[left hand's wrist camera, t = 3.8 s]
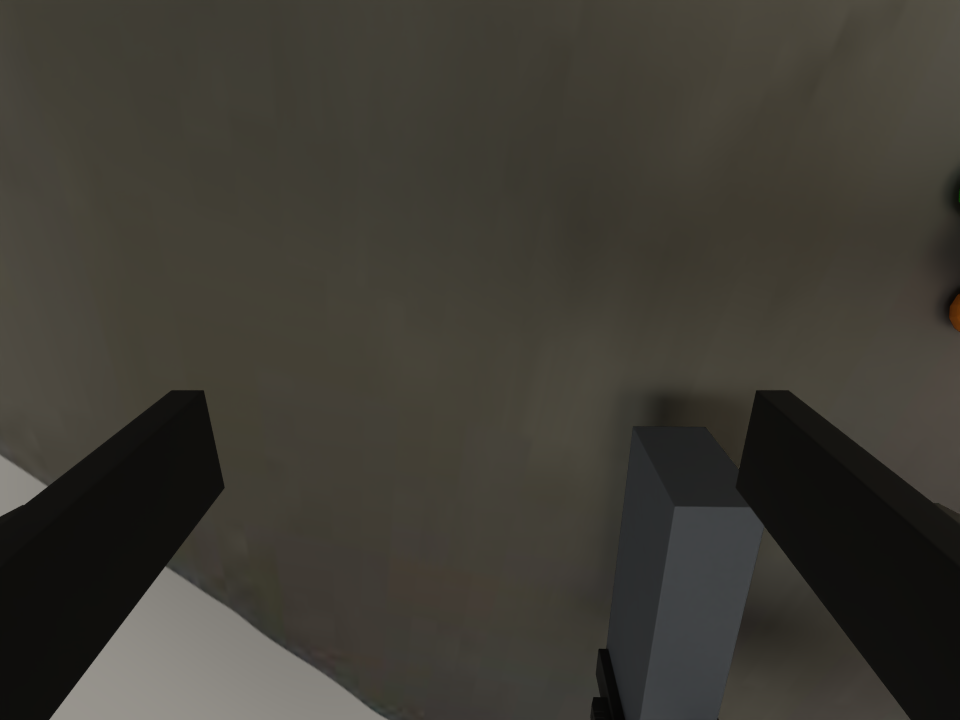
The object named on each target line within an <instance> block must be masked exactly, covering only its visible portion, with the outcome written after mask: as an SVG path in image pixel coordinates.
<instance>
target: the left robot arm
mask: <svg viewBox="0 0 960 720" xmlns="http://www.w3.org/2000/svg"><path fill="white" fill-rule="evenodd" d="M224 488H225V487H224V482H223V478H222V473H221V468H220V464H219V459H218V454H217V450H216V445H215V440H214V436H213V431H212V427H211V422H210V417H209V413H208V408H207V403H206V399H205V394H204V390H171V391H170V392H169V393H168V394H166V395H165V396H164V397H162V398H161V399H160V400H159V401H157V402H156V403H155V404H153V405H152V406H151V407H150V408H148V409H147V410H146V411H144V412H143V413H142V414H141V415H139V416H138V417H137V418H135V419H134V420H133V421H132V422H130V423H129V424H128V425H126V426H125V427H124V428H123V429H121V430H120V431H119V432H117V433H116V434H115V435H114V436H112V437H111V438H110V439H109V440H107V441H106V442H105V443H103V444H102V445H101V446H100V447H98V448H97V449H96V450H94V451H93V452H92V453H91V454H89V455H88V456H87V457H85V458H84V459H83V460H82V461H80V462H79V463H78V464H76V465H75V466H74V467H73V468H71V469H70V470H69V471H67V472H66V473H65V474H64V475H62V476H61V477H60V478H58V479H57V480H56V481H55V482H53V483H52V484H51V485H49V486H48V487H47V488H46V489H44V490H43V491H42V492H40V493H39V494H38V495H37V496H35V497H34V498H33V499H31V500H30V501H29V502H28V503H26V504H25V505H22V506H20V507H18V508H16V509H14V510H12V511H10V512H8V513H6V514H5V515H3V516H1V517H0V720H49V719H50V718H51V717H52V715H53V714H54V713H55V711H56V710H57V709H58V707H59V706H60V705H61V703H62V702H63V701H64V699H65V698H66V697H67V695H68V694H69V693H70V692H71V690H72V689H73V688H74V686H75V685H76V684H77V682H78V681H79V680H80V678H81V677H82V676H83V674H84V673H85V672H86V670H87V669H88V668H89V666H90V665H91V664H92V662H93V661H94V660H95V658H96V657H97V656H98V654H99V653H100V652H101V651H102V649H103V648H104V647H105V645H106V644H107V643H108V641H109V640H110V639H111V637H112V636H113V635H114V633H115V632H116V631H117V629H118V628H119V627H120V625H121V624H122V623H123V621H124V620H125V619H126V618H127V616H128V615H129V614H130V612H131V611H132V610H133V608H134V607H135V606H136V604H137V603H138V602H139V600H140V599H141V598H142V596H143V595H144V594H145V592H146V591H147V590H148V588H149V587H150V586H151V584H152V583H153V582H154V580H155V579H156V578H157V577H158V575H159V574H160V573H161V571H162V570H163V569H164V567H165V566H166V565H167V563H168V562H169V561H170V559H171V558H172V557H173V555H174V554H175V553H176V551H177V550H178V549H179V547H180V546H181V545H182V543H183V542H184V541H185V540H186V538H187V537H188V536H189V534H190V533H191V532H192V530H193V529H194V528H195V526H196V525H197V524H198V522H199V521H200V520H201V518H202V517H203V516H204V514H205V513H206V512H207V510H208V509H209V508H210V506H211V505H212V504H213V503H214V501H215V500H216V499H217V497H218V496H219V495H220V493H221V492H222V491H223V489H224ZM735 488H736V489H737V491H738V492H739V493H740V495H741V496H742V497H743V499H744V500H745V501H746V503H747V504H748V505H749V506H750V508H751V509H752V510H753V512H754V513H755V514H756V516H757V517H758V518H759V520H760V521H761V522H762V524H763V525H764V526H765V528H766V529H767V530H768V532H769V533H770V534H771V536H772V537H773V538H774V540H775V541H776V542H777V543H778V545H779V546H780V547H781V549H782V550H783V551H784V553H785V554H786V555H787V557H788V558H789V559H790V561H791V562H792V563H793V565H794V566H795V567H796V569H797V570H798V571H799V573H800V574H801V575H802V577H803V578H804V579H805V580H806V582H807V583H808V584H809V586H810V587H811V588H812V590H813V591H814V592H815V594H816V595H817V596H818V598H819V599H820V600H821V602H822V603H823V604H824V606H825V607H826V608H827V610H828V611H829V612H830V614H831V615H832V616H833V618H834V619H835V620H836V621H837V623H838V624H839V625H840V627H841V628H842V629H843V631H844V632H845V633H846V635H847V636H848V637H849V639H850V640H851V641H852V643H853V644H854V645H855V647H856V648H857V649H858V651H859V652H860V653H861V655H862V656H863V657H864V658H865V660H866V661H867V662H868V664H869V665H870V666H871V668H872V669H873V670H874V672H875V673H876V674H877V676H878V677H879V678H880V680H881V681H882V682H883V684H884V685H885V686H886V688H887V689H888V690H889V692H890V693H891V694H892V695H893V697H894V698H895V699H896V701H897V702H898V703H899V705H900V706H901V707H902V709H903V710H904V711H905V713H906V714H907V715H908V717H909V718H910V719H911V720H960V514H958V513H956V512H954V511H952V510H950V509H948V508H946V507H944V506H943V505H941V504H939V503H932V502H931V501H930V500H929V499H927V498H926V497H925V496H923V495H922V494H921V493H920V492H918V491H917V490H916V489H914V488H913V487H912V486H911V485H909V484H908V483H907V482H905V481H904V480H903V479H902V478H900V477H899V476H898V475H896V474H895V473H894V472H893V471H891V470H890V469H889V468H887V467H886V466H885V465H884V464H882V463H881V462H880V461H878V460H877V459H876V458H875V457H873V456H872V455H871V454H869V453H868V452H867V451H866V450H864V449H863V448H862V447H860V446H859V445H858V444H857V443H855V442H854V441H853V440H851V439H850V438H849V437H848V436H846V435H845V434H844V433H843V432H841V431H840V430H839V429H837V428H836V427H835V426H834V425H832V424H831V423H830V422H828V421H827V420H826V419H825V418H823V417H822V416H821V415H819V414H818V413H817V412H816V411H814V410H813V409H812V408H810V407H809V406H808V405H807V404H805V403H804V402H803V401H801V400H800V399H799V398H798V397H796V396H795V395H794V394H792V393H791V392H790V391H789V390H756V394H755V399H754V403H753V408H752V413H751V417H750V422H749V426H748V431H747V436H746V440H745V445H744V450H743V454H742V459H741V464H740V468H739V473H738V478H737V482H736V487H735Z"/></svg>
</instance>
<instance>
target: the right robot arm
mask: <svg viewBox="0 0 960 720" xmlns="http://www.w3.org/2000/svg"><path fill="white" fill-rule="evenodd" d="M596 677H597V682H598V687H599V692H600V697H593V701H592V708H591V717H590V718H591V720H625V717H624V713H623V708H622V704H621V700H620V696H619V691H618V687H617V683H616V679H615V675H614V670H613V666H612V662H611V658H610V654H609V649H599V650H598V659H597V668H596ZM717 720H719V719H718V718H717Z"/></svg>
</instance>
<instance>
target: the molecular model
mask: <svg viewBox="0 0 960 720" xmlns="http://www.w3.org/2000/svg"><path fill="white" fill-rule="evenodd" d="M959 203H960V189H959ZM949 319H950V320H951V322H952V324H953V326H954V328H955V329H956V330H958V331H959V332H960V294H958V295H957V297H956V298H955V300H954V301H953V303H952V304H951V306H950V312H949Z"/></svg>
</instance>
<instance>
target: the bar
mask: <svg viewBox="0 0 960 720" xmlns="http://www.w3.org/2000/svg"><path fill="white" fill-rule="evenodd" d="M738 473H739V469H738V468H737V467H736V465H735V464H734V463H733V462H732V460H731V459H730V458H729V457H728V455H727V454H726V453H725V451H724V450H723V449H722V448H721V446H720V445H719V444H718V443H717V441H716V440H715V439H714V437H713V436H712V435H711V434H710V432H709V431H708V430H707V428H706V427H644V426H634V427H633V431H632V440H631V448H630V456H629V464H628V473H627V481H626V489H625V498H624V506H623V514H622V522H621V531H620V539H619V547H618V556H617V564H616V572H615V581H614V589H613V597H612V605H611V614H610V622H609V630H608V639H607V647H606V649H609V654H610V658H611V662H612V666H613V670H614V675H615V679H616V683H617V687H618V691H619V696H620V700H621V704H622V708H623V713H624V717H625V720H717V718H718V714H719V710H720V706H721V702H722V698H723V694H724V690H725V686H726V681H727V677H728V673H729V669H730V665H731V661H732V657H733V653H734V649H735V644H736V640H737V636H738V632H739V628H740V624H741V620H742V616H743V612H744V607H745V603H746V599H747V595H748V591H749V587H750V583H751V579H752V575H753V570H754V566H755V562H756V558H757V554H758V550H759V546H760V542H761V538H762V533H763V529H764V525H763V524H762V522H761V521H760V520H759V518H758V517H757V516H756V514H755V513H754V512H753V510H752V509H751V508H750V506H749V505H748V504H747V503H746V501H745V500H744V499H743V497H742V496H741V495H740V493H739V492H738V491H737V489H736V488H735V487H736V482H737V478H738Z"/></svg>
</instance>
